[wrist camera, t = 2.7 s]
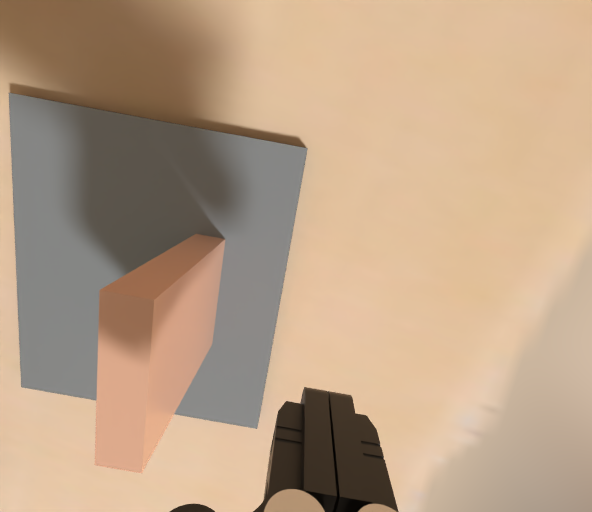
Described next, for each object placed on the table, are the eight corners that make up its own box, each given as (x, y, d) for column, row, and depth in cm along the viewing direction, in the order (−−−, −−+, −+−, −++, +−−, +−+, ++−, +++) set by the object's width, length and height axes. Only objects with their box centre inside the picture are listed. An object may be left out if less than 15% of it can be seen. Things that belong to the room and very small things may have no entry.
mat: (19, 95, 16) (8, 92, 15) (307, 148, 16) (307, 148, 15) (29, 380, 20) (21, 387, 19) (258, 421, 20) (257, 428, 20)
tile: (193, 233, 17) (94, 289, 9) (225, 239, 17) (154, 299, 9) (182, 339, 18) (90, 464, 11) (212, 344, 18) (141, 473, 11)
